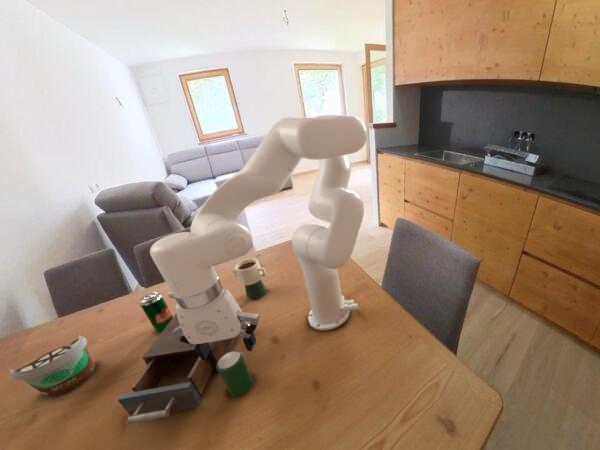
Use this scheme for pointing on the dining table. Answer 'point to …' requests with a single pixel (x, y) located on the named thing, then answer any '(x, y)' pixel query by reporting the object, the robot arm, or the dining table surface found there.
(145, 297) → the soda can
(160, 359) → the drawer
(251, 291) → the character mug
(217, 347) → the cabinet
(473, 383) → the dining table surface
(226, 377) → the can
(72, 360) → the food container
